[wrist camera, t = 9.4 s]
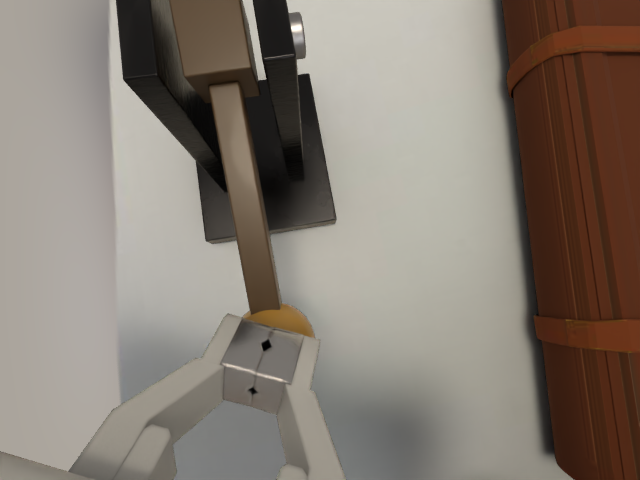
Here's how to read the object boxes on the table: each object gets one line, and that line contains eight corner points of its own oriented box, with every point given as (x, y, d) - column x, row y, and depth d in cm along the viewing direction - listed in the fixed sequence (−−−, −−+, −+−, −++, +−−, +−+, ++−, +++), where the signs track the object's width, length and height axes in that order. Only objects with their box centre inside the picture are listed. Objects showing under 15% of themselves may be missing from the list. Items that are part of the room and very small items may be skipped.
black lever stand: (335, 223, 21) (365, 136, 9) (211, 244, 20) (73, 182, 8) (309, 84, 22) (306, -147, 10) (193, 101, 22) (54, -120, 10)
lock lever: (319, 358, 14) (324, 400, 11) (246, 372, 14) (230, 418, 11) (262, 27, 13) (249, -37, 10) (182, 37, 13) (142, -23, 9)
